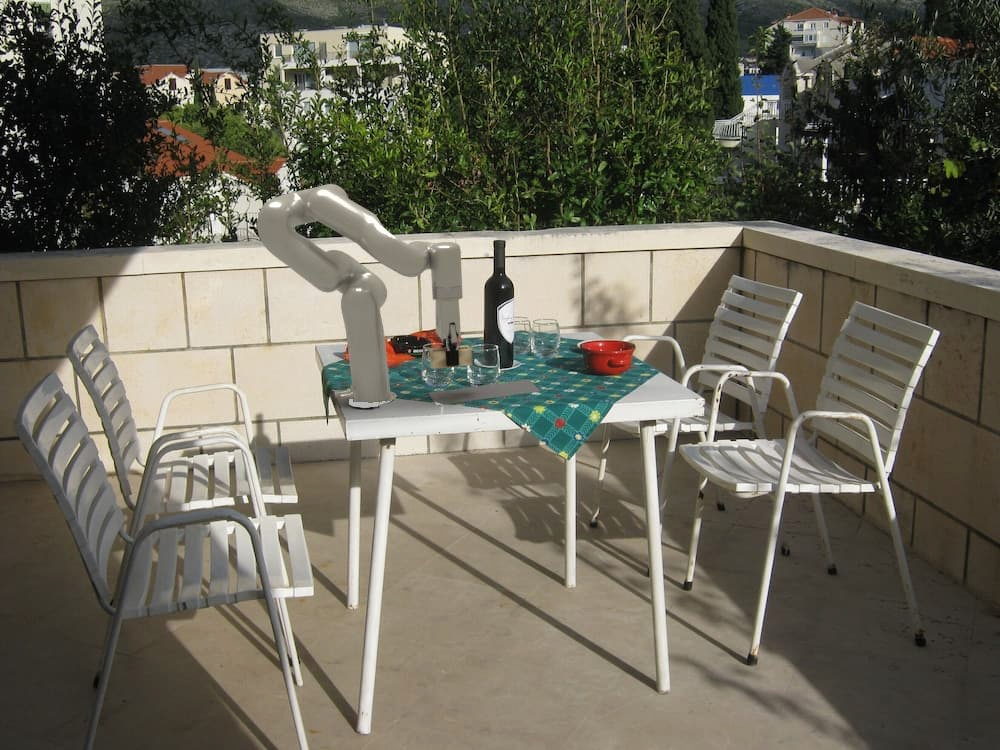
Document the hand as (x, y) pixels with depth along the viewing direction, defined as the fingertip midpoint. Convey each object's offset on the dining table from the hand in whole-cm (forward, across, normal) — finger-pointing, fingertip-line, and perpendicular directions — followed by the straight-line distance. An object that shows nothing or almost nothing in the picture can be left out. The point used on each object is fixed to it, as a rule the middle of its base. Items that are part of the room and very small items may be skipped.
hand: (450, 362), depth 273 cm
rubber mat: (+9, 0, +8) cm, 12 cm away
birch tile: (+1, 0, 0) cm, 1 cm away
